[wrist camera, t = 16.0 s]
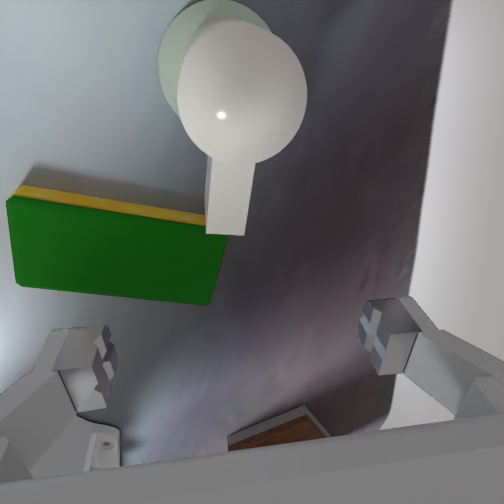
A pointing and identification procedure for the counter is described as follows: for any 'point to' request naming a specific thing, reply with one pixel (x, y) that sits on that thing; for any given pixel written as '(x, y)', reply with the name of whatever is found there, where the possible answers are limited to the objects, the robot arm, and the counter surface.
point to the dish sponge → (111, 247)
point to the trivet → (182, 31)
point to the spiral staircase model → (279, 431)
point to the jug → (238, 110)
